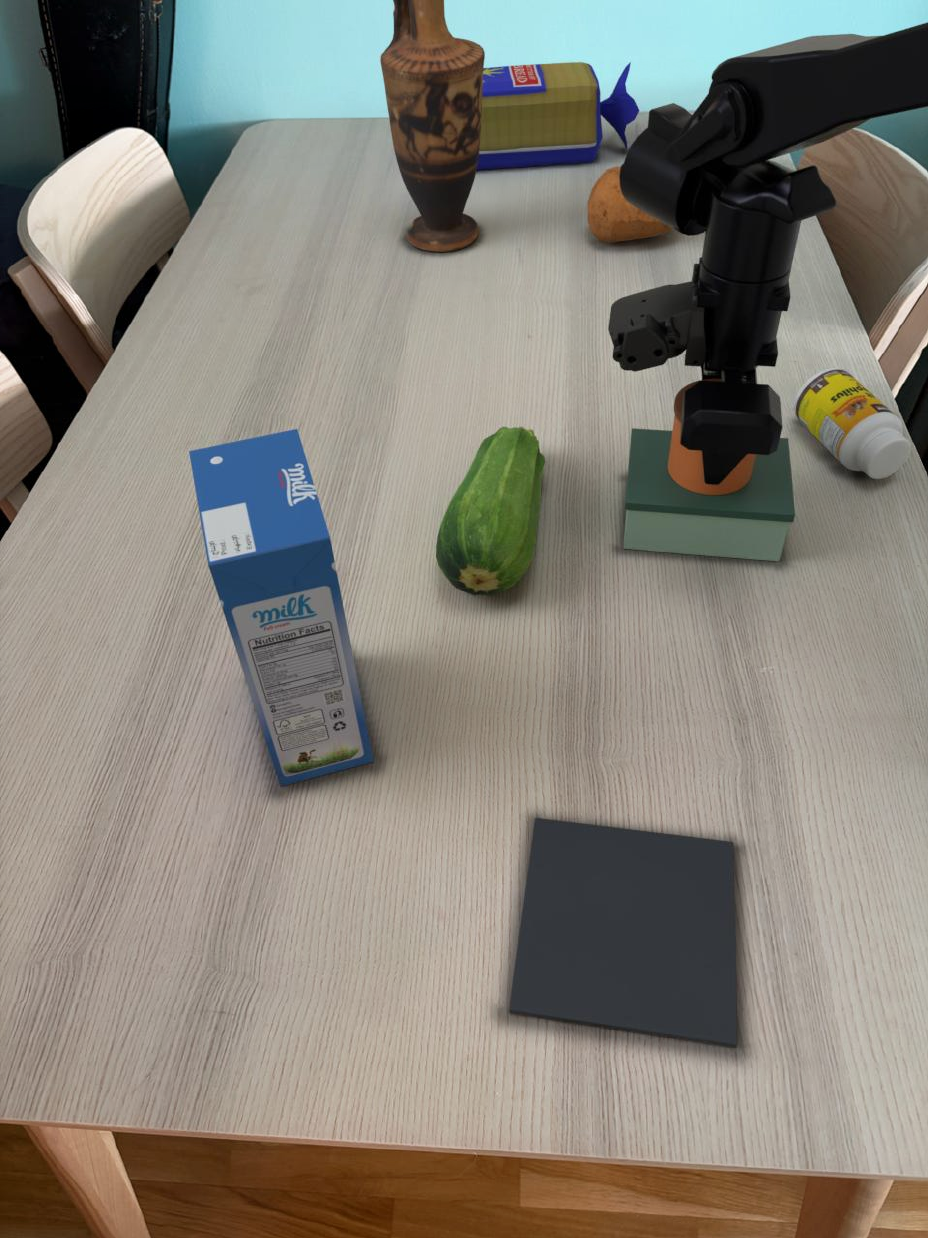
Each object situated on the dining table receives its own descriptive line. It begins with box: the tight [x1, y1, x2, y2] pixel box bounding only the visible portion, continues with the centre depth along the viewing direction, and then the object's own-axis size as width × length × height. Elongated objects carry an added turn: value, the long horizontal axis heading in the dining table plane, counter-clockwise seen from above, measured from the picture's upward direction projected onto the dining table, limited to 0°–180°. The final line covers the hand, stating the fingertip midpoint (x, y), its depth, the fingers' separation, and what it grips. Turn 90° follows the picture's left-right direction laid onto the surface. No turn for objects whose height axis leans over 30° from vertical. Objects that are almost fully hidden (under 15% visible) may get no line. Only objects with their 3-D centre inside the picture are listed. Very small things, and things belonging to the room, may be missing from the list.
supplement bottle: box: [793, 367, 912, 480], centre depth 82 cm, size 6×6×10 cm
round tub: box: [668, 379, 756, 495], centre depth 73 cm, size 7×7×6 cm
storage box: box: [623, 428, 796, 562], centre depth 77 cm, size 12×9×5 cm
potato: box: [586, 165, 674, 243], centre depth 110 cm, size 9×11×8 cm
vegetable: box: [435, 426, 547, 597], centre depth 77 cm, size 7×7×20 cm
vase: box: [379, 0, 486, 253], centre depth 104 cm, size 11×11×30 cm
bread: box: [476, 61, 640, 171], centre depth 126 cm, size 10×25×10 cm, turn 93°
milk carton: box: [188, 428, 374, 787], centre depth 60 cm, size 10×6×20 cm, turn 17°
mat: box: [508, 817, 739, 1048], centre depth 56 cm, size 12×12×1 cm
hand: (711, 455), depth 75 cm, fingers closed on round tub, 6 cm apart
